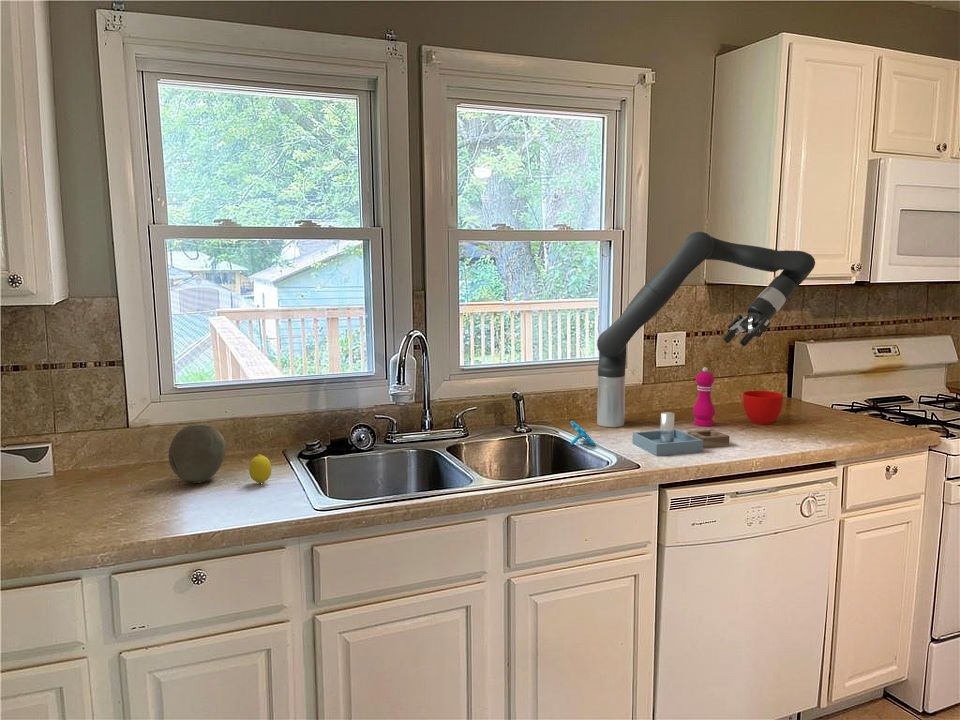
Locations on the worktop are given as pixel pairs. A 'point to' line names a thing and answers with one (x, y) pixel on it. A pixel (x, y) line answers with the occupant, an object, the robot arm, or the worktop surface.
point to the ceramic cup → (762, 406)
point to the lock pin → (667, 427)
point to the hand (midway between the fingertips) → (733, 342)
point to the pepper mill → (704, 399)
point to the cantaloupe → (197, 453)
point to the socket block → (711, 438)
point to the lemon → (260, 469)
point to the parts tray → (679, 446)
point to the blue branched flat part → (581, 434)
